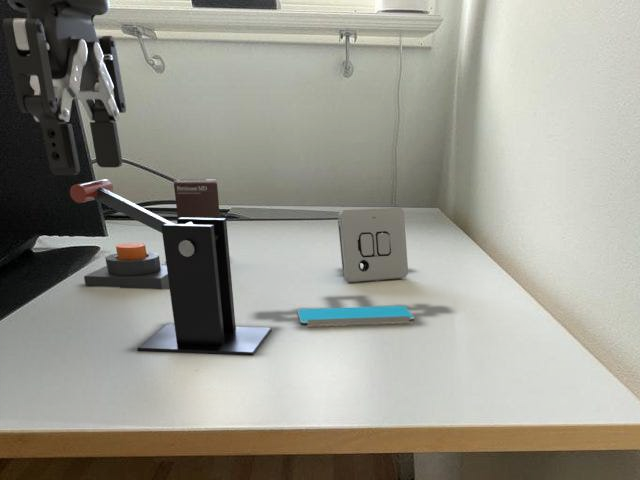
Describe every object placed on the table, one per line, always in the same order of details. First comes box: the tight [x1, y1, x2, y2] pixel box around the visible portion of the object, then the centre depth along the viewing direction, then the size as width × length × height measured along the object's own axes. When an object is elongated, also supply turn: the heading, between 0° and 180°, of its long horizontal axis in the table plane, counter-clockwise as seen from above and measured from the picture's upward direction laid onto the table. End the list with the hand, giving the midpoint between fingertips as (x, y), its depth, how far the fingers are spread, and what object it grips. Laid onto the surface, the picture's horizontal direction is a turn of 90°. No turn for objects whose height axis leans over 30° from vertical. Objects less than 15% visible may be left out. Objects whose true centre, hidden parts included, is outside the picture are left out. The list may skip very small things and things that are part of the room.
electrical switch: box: [337, 207, 409, 283], centre depth 92 cm, size 9×5×9 cm, turn 110°
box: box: [173, 178, 221, 219], centre depth 95 cm, size 6×4×12 cm
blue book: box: [297, 305, 415, 328], centre depth 74 cm, size 20×12×2 cm, turn 99°
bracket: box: [136, 217, 273, 357], centre depth 62 cm, size 11×8×12 cm
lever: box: [69, 178, 219, 244], centre depth 59 cm, size 12×6×2 cm, turn 84°
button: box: [115, 242, 147, 260], centre depth 85 cm, size 4×4×2 cm
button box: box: [83, 251, 170, 290], centre depth 86 cm, size 10×8×4 cm
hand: (89, 170), depth 58 cm, fingers open, 8 cm apart
